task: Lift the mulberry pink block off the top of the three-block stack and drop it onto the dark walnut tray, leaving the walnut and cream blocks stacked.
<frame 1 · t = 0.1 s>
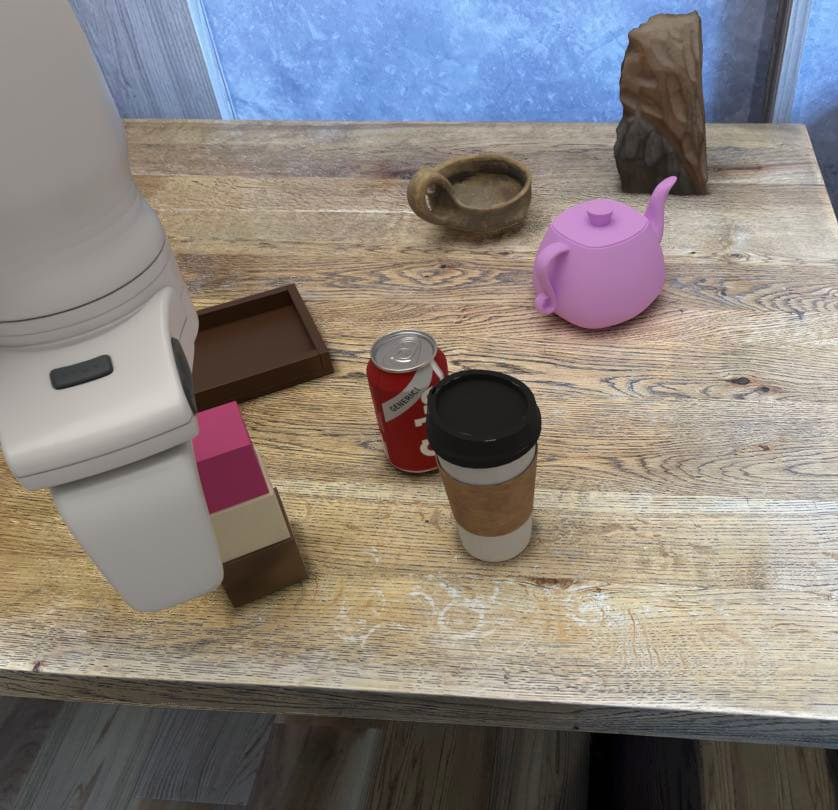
hand: (186, 520, 45), 19 cm above the table, tool pointing down, fingers open, 8 cm apart
cream block: (246, 526, 63), point 5 cm above the table, touching pink block, walnut block
pink block: (227, 482, 59), point 10 cm above the table, touching cream block
teapot: (605, 297, 92), on the table
soda can: (422, 452, 75), on the table
tray: (223, 364, 86), on the table
coffee cup: (496, 535, 68), on the table
brown rock: (664, 181, 112), on the table
bowl: (472, 227, 105), on the table
walnut block: (263, 565, 66), on the table, touching cream block
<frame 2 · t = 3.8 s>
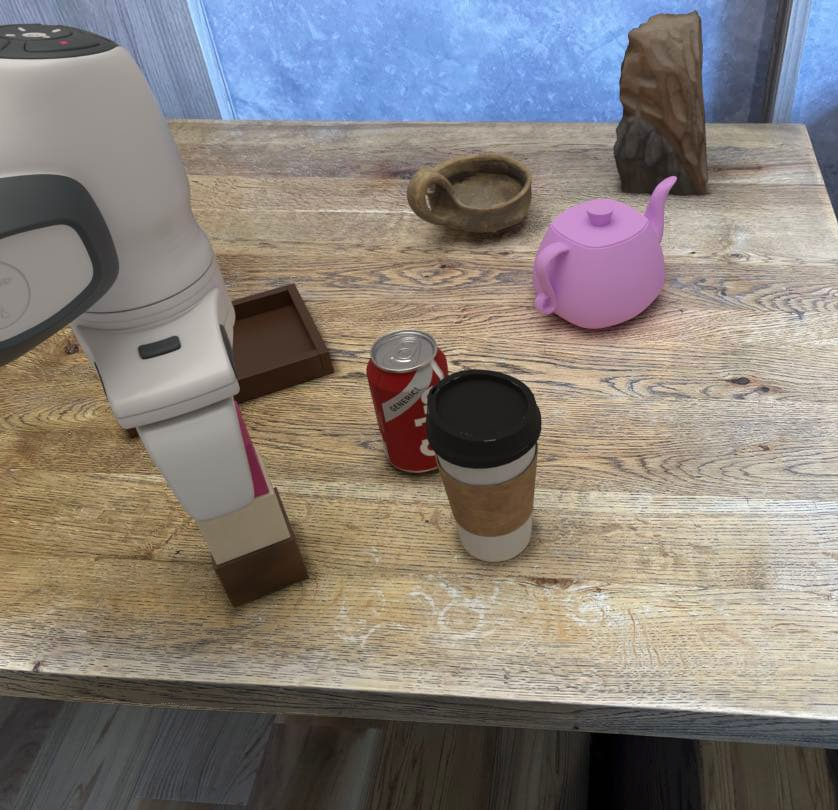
hand: (221, 467, 58), 12 cm above the table, tool pointing down, fingers closed on pink block, 5 cm apart
pink block: (227, 482, 59), point 10 cm above the table, touching cream block, gripper
everything else where it was.
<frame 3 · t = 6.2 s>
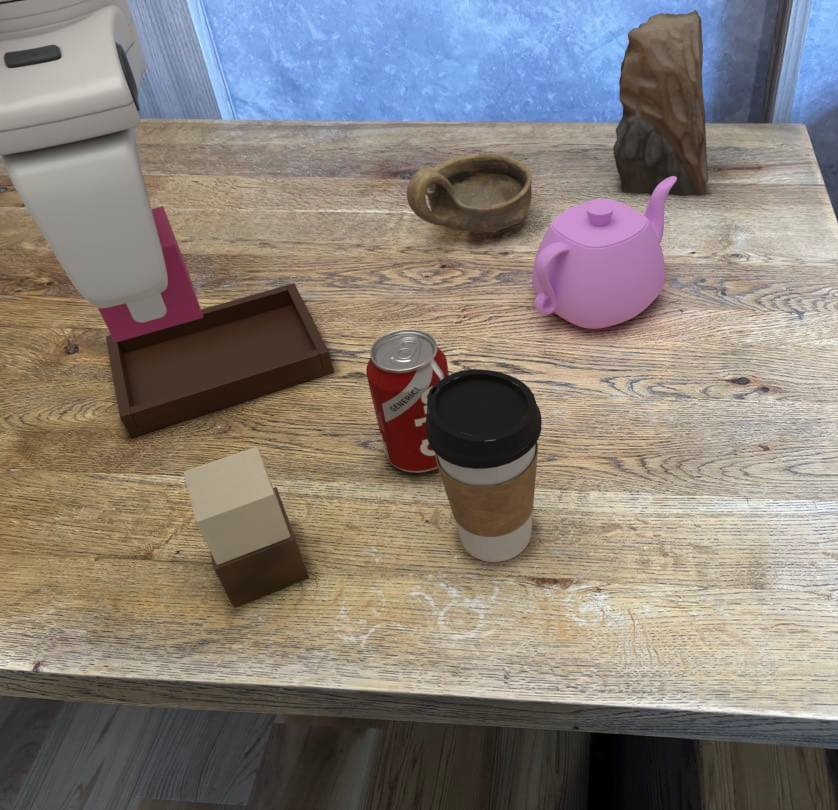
hand: (144, 286, 48), 27 cm above the table, tool pointing down, fingers closed on pink block, 5 cm apart
cream block: (246, 526, 63), point 5 cm above the table, touching walnut block
pink block: (154, 308, 49), point 25 cm above the table, touching gripper
everything else where it was.
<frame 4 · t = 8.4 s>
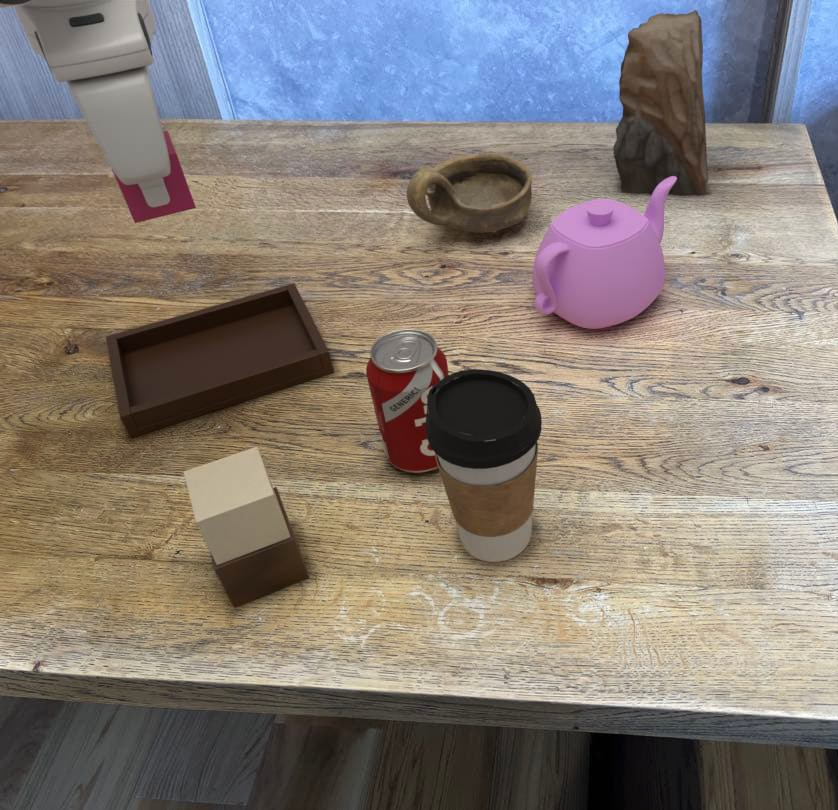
hand: (154, 186, 69), 21 cm above the table, tool pointing down, fingers closed on pink block, 5 cm apart
pink block: (161, 203, 70), point 20 cm above the table, touching gripper
everything else where it was.
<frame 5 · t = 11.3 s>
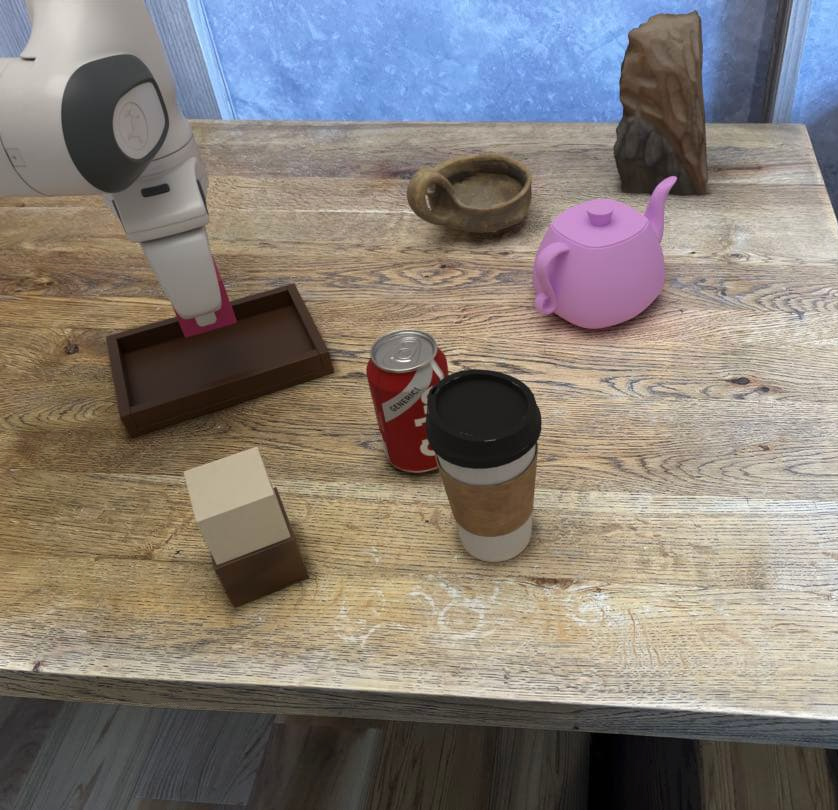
hand: (201, 304, 80), 8 cm above the table, tool pointing down, fingers closed on pink block, 5 cm apart
pink block: (207, 317, 81), point 6 cm above the table, touching gripper
everything else where it was.
when the fingers open (2 cm above the table, at t = 13.2 s): pink block stays where it is, resting on tray.
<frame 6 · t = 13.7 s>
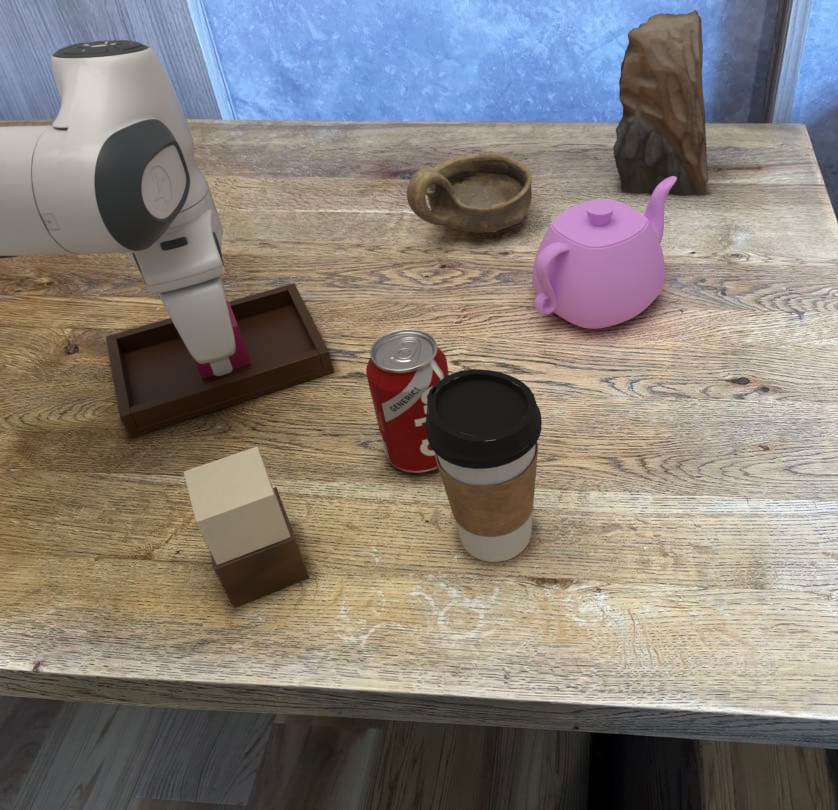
hand: (214, 344, 84), 3 cm above the table, tool pointing down, fingers open, 8 cm apart
pink block: (222, 358, 85), point 1 cm above the table, touching tray
everything else where it was.
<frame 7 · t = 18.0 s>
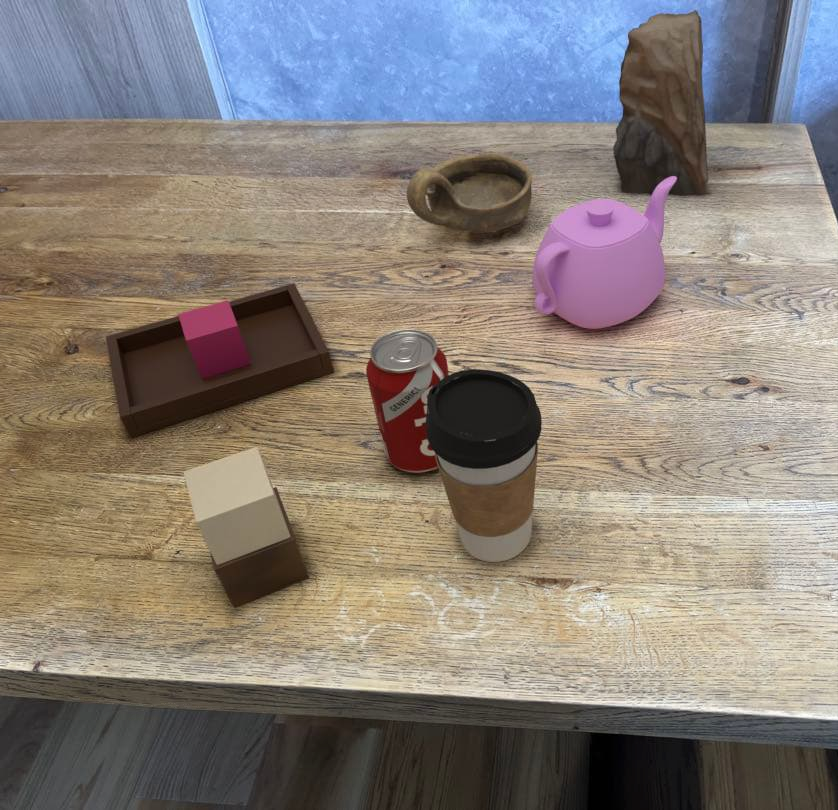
nothing on the table moved.
at the end: pink block inside the target area in the tray (0.2 cm from its centre), point 0.8 cm above the tray's base; cream block point 5.0 cm above the table; the gripper is holding nothing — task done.
